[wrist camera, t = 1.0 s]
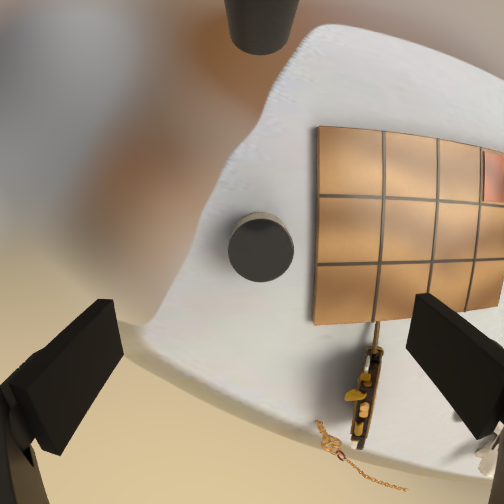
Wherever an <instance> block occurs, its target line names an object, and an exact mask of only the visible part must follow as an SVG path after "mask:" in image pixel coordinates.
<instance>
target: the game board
mask: <svg viewBox="0 0 504 504" xmlns="http://www.w3.org/2000/svg"><path fill="white" fill-rule="evenodd" d="M316 132H317V226H316V258H315V281H314V300H313V316H312V321H313V324H314V325H331V324H347V323H361V322H374V321H386V320H396V319H406V318H412V313H413V308H414V302H415V295H416V294H420V293H431V294H432V295H433V296H435V297H436V298H437V299H439V300H440V301H441V302H443V303H444V304H445V305H447V306H448V307H449V308H451V309H452V310H453V311H455V312H466V311H470V310H477V309H484V308H490V307H496V306H498V303H499V299H500V294H501V289H502V285H503V280H504V153H503V152H499V151H495V150H490V149H486V148H482V147H477V146H473V145H468V144H463V143H458V142H453V141H448V140H442V139H438V138H437V139H436V138H430V137H424V136H417V135H411V134H403V133H396V132H387V131H378V130H369V129H358V128H345V127H331V126H318V127H317V128H316Z"/></svg>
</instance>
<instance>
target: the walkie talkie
mask: <svg viewBox="0 0 504 504" xmlns="http://www.w3.org/2000/svg"><path fill="white" fill-rule="evenodd" d="M379 323H380V321H376V324H375V330H374V339H373V346H370V347H368V348H367V349H366V350H365V353H366V357H365V361H364V364H363V368H362V372H361V375H360V378H359V379H358V381H357V384H358V388H357V389H352V390H350V391H349V392H348V393H347V394H346V395H345V397H344V399H345V400H346V401H355V404H354V412H353V419H352V426H351V433H350V434H352V436H351V448H352V449H358V450H363V448H364V444H365V440H366V438H367V436H368V432H369V428H370V424H371V419H372V415H373V410H374V405H375V400H376V395H377V389H378V383H379V377H380V371H381V363H382V356H383V355H384V350H383V349H382V348H381V347H378V346H377V345H378V337H379V328H380V324H379ZM315 423H316V425H317V426H318V427H317V428H318V429H319V431H320V433H322V434H323V436H322V437H323V438H322V439H323V440H322V441H321V446H322V448H323V449H325V450H329V451H330V453H331V454H333V455H337V457H338V458H339V459H340V460H342V461H347V462H348V461H349V460H347V458H346V457H345V455H344V453H343V452H342V451H341V448H340V447H342V442H341V441H340V440H339V439H338V438H335V437H333V436H330V435H328V434H327V432H326V429H325V427H323V425H321V424H323V423H322V422H319V421H318V420H317V421H315ZM330 439H333V440H335V441H331V440H330ZM326 440H328V441H329V442H328V443H325V444H323V443H324V442H325V441H326ZM336 442H339V444H340V445H339V446H336V445H333V443H336ZM327 445H331V447H330V448H327V447H325V446H327ZM333 447H334V448H338V450H337V451H336V453H335V452H333V451H332V450H331V449H333ZM340 453H341V454H342V455H343V456H344V458H343V459H341V458H340V457H339V454H340ZM348 463H350V464H351V465H352V466H353V467H354V468H356V469H357V470H358V471H359V473H360V472H361V473H360V474H362V475H363V474H364V473H363V471H361V470H360V469H359V468H357V467H356V466H355V465H354V464H353V463H351V462H350V461H349V462H348ZM366 476H368V475H365V474H364V475H363V477H364V478H366ZM366 479H370V480H372V481H373V479H374V478H371V477H369V476H368V477H367V478H366ZM377 481H378V480H376V479H375V480H374V481H373V482H377ZM379 482H381V483H379ZM377 483H378V484H382V485H385V486H386V484H388V483H383V482H382V481H378V482H377ZM393 486H394V488H395V489H398V490H403V491H405V489H406V488H405V489H403V488H401V487H397V486H395V485H390V484H388V485H387V487H391V488H393ZM399 488H400V489H399ZM407 491H408V489H407Z"/></svg>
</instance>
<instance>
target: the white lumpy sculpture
mask: <svg viewBox="0 0 504 504" xmlns="http://www.w3.org/2000/svg"><path fill="white" fill-rule="evenodd" d="M503 427H504V425H503V424H502V423H500V422H498V424H497V426H496V428H495V430H494V432H495V433H496V434H497V437H498V436H499V434H500V432H501V430H502V428H503ZM497 437H496V438H495V439H494V441H493V442H492V444H491V446H490V448H488V449H480V450H478V451H477V452H476V453H475V456H476V457H479V458H482V460H481V462H480V464H479V467H478V469H479V470H480V472H481V473H482V474H483V475H485V476H487V477H492V476H494V474H495V468H496V462H497V455H498V451H497V450H498V448H499V444H497V445H496V447H495V448H494V450H491V448H492V446H493V444H494V442H495V441H496V439H497Z"/></svg>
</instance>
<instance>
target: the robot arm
mask: <svg viewBox="0 0 504 504" xmlns="http://www.w3.org/2000/svg"><path fill="white" fill-rule="evenodd" d="M406 349H407V350H408V351H409V353H410V354H411V355H412V356H413V358H414V359H415V360H416V361H417V363H418V364H419V365H420V366H421V368H422V369H423V370H424V371H425V373H426V374H427V375H428V376H429V378H430V379H431V380H432V381H433V383H434V384H435V385H436V386H437V388H438V389H439V390H440V392H441V393H442V394H443V396H444V397H445V398H446V399H447V401H448V402H449V403H450V405H451V406H452V407H453V409H454V410H455V411H456V413H457V414H458V415H459V417H460V418H461V419H462V421H463V422H464V423H465V425H466V426H467V427H468V429H469V430H470V431H471V433H472V434H473V436H474V437H475V438H476V440H479V439H481V438H484V437H486V436H488V435H490V434H492V433H493V432H494V430H495V428H496V426H497V424H498V422H499V421H501V422H502V423H503V425H504V349H503V347H502V346H501V345H499V344H498V343H497V342H496V341H494V340H492V339H489V338H488V337H487V336H486V335H484V334H483V333H482V332H481V331H479V330H478V329H477V328H476V327H474V326H473V325H472V324H470V323H469V322H468V321H467V320H465V319H464V318H463V317H461V316H460V315H459V314H457V313H456V312H455V311H453V310H452V309H451V308H449V307H448V306H447V305H445V304H444V303H443V302H441V301H440V300H439V299H437V298H436V297H435V296H433V295H432V294H431V293H420V294H416V295H415V302H414V308H413V313H412V319H411V324H410V329H409V334H408V339H407V344H406ZM123 355H124V353H123V348H122V344H121V339H120V334H119V329H118V324H117V319H116V313H115V308H114V302H113V300H111V299H97V300H96V301H95V302H94V303H93V304H92V305H91V306H89V307H88V308H87V309H86V310H85V311H84V312H83V313H82V314H80V315H79V316H78V317H77V318H76V319H75V320H74V321H73V322H72V323H71V324H69V325H68V326H67V327H66V328H65V329H64V330H63V331H62V332H61V333H59V334H58V335H57V336H56V337H55V338H54V339H53V340H52V341H51V342H50V343H49V344H48V345H47V346H46V347H44V348H43V349H41V350H39V351H37V352H35V353H33V354H32V355H31V356H30V357H29V358H28V359H27V360H26V361H25V362H24V363H23V364H22V365H21V366H20V367H19V368H17V369H16V370H15V371H14V372H13V373H12V374H11V375H10V376H9V377H8V378H7V379H6V380H5V381H4V382H3V383H2V384H1V385H0V504H49V501H48V498H47V495H46V492H45V488H44V485H43V482H42V478H41V475H40V471H39V468H38V464H37V460H36V456H35V452H34V450H33V448H32V446H31V443H32V441H33V440H34V438H36V440H37V442H38V444H39V445H40V447H41V449H42V450H44V451H47V452H50V453H52V454H55V455H59V456H61V454H62V452H63V451H64V449H65V447H66V446H67V444H68V442H69V441H70V439H71V437H72V436H73V434H74V432H75V431H76V429H77V427H78V426H79V424H80V422H81V421H82V419H83V418H84V416H85V414H86V413H87V411H88V410H89V408H90V406H91V405H92V403H93V402H94V400H95V398H96V397H97V395H98V393H99V392H100V390H101V389H102V387H103V386H104V384H105V383H106V381H107V380H108V378H109V376H110V375H111V373H112V372H113V370H114V369H115V367H116V366H117V364H118V363H119V361H120V360H121V358H122V357H123ZM497 444H499V448H498V450H497V451H498V455H497V462H496V468H495V474H494V479H493V485H492V489H491V494H490V498H489V503H488V504H504V427H503V428H502V430H501V432H500V434H499V436H498V437H497V439H496V441H495V442H494V444H493V446H492V448H491V450H494V448H495V447H496V445H497Z"/></svg>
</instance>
